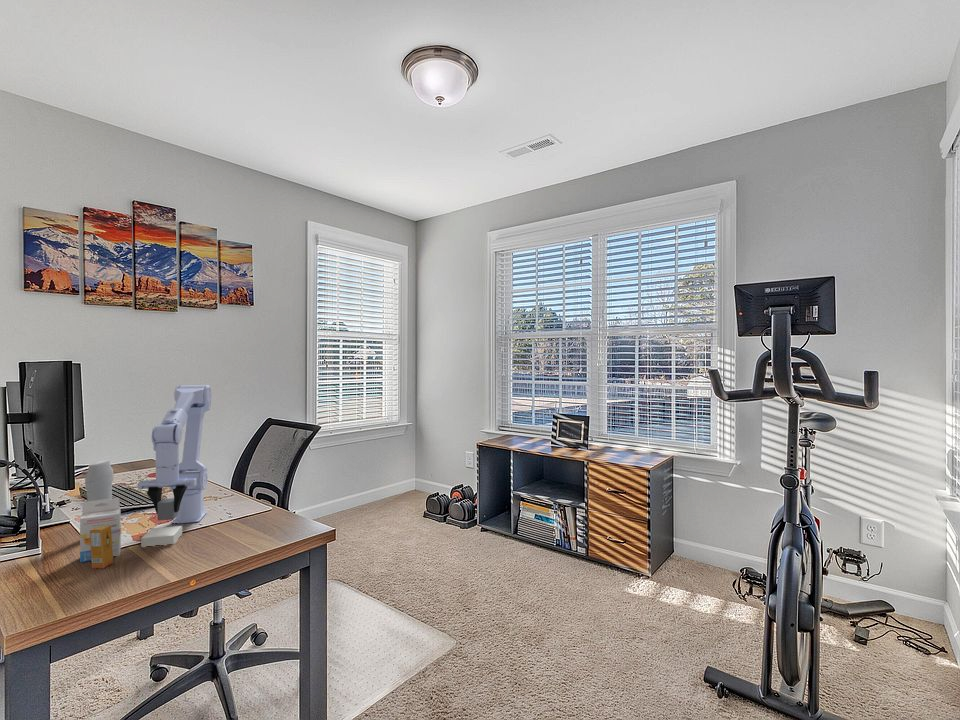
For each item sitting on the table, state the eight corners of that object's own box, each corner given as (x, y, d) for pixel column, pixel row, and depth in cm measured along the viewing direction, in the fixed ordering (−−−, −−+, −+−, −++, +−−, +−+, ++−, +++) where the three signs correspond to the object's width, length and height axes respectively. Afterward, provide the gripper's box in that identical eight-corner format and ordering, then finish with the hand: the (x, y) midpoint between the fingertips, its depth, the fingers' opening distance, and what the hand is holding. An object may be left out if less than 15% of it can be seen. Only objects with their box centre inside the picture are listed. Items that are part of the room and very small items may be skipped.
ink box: (79, 563, 127) (78, 507, 127) (82, 556, 132) (81, 502, 131) (120, 556, 132) (119, 501, 132) (121, 549, 136) (120, 496, 136)
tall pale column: (93, 540, 143) (92, 464, 142) (79, 540, 143) (78, 464, 142) (119, 527, 153) (119, 457, 153) (106, 527, 153) (105, 456, 153)
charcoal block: (162, 515, 144) (162, 499, 144) (177, 514, 145) (177, 497, 145) (157, 520, 140) (157, 503, 140) (173, 519, 141) (173, 502, 141)
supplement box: (100, 563, 128) (99, 524, 127) (113, 563, 127) (112, 525, 127) (89, 568, 124) (89, 529, 124) (103, 569, 124) (102, 529, 124)
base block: (151, 538, 145) (151, 528, 145) (182, 535, 148) (182, 525, 148) (141, 548, 138) (141, 538, 138) (173, 545, 140) (173, 535, 140)
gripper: (132, 470, 136) (133, 518, 137) (191, 467, 140) (191, 514, 141) (142, 464, 143) (143, 510, 144) (198, 461, 147) (198, 506, 147)
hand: (167, 512), depth 143 cm, fingers closed on charcoal block, 4 cm apart
